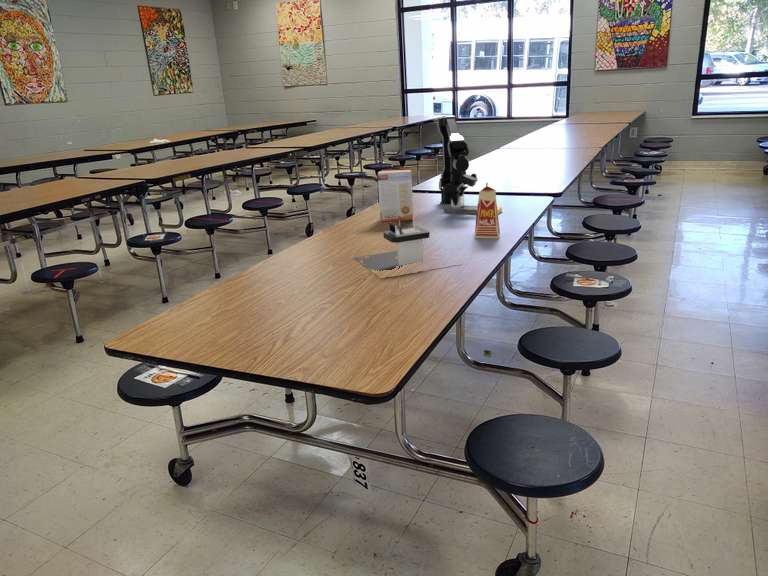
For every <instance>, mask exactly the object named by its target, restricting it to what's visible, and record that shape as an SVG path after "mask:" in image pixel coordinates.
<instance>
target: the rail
mask: <svg viewBox="0 0 768 576" xmlns="http://www.w3.org/2000/svg"><path fill="white" fill-rule="evenodd" d="M497 210H498V215H499V214H501V213H502V212H503V207H502V206H497ZM444 212H446V213H447V214H459V213H468V214H467V215H477V205H466V204H464V208H462V209H459V208H451V204H449V205H447V206H445V207H443V213H444ZM500 212H501V213H500ZM446 213H445V214H446Z"/></svg>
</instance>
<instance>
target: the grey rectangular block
mask: <svg viewBox="0 0 768 576" xmlns="http://www.w3.org/2000/svg"><path fill="white" fill-rule="evenodd" d="M450 205H451V208H459V209H462V208H464V205H465V195H464V194H463V195H458V203H457V205H454V203H453V201H452V199H451V204H450Z"/></svg>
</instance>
